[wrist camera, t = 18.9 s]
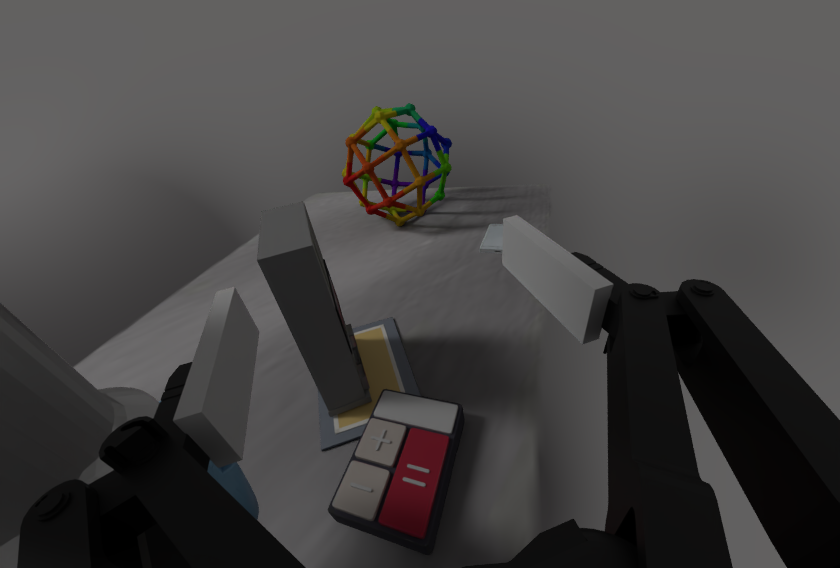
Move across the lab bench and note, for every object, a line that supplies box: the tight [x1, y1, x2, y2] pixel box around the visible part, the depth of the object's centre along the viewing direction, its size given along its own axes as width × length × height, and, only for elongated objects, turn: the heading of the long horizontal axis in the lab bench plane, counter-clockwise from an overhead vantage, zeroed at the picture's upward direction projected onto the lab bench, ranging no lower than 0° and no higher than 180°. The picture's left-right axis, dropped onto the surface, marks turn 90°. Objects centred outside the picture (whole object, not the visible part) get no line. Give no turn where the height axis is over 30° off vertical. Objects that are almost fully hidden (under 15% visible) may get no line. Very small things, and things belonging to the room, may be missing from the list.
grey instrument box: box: [257, 202, 372, 417], centre depth 45 cm, size 14×6×25 cm, turn 20°
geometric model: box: [342, 103, 452, 226], centre depth 89 cm, size 30×30×30 cm
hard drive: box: [479, 224, 503, 254], centre depth 80 cm, size 2×8×12 cm
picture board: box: [318, 317, 421, 451], centre depth 52 cm, size 14×21×1 cm, turn 17°
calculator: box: [328, 389, 464, 555], centre depth 39 cm, size 11×4×15 cm
